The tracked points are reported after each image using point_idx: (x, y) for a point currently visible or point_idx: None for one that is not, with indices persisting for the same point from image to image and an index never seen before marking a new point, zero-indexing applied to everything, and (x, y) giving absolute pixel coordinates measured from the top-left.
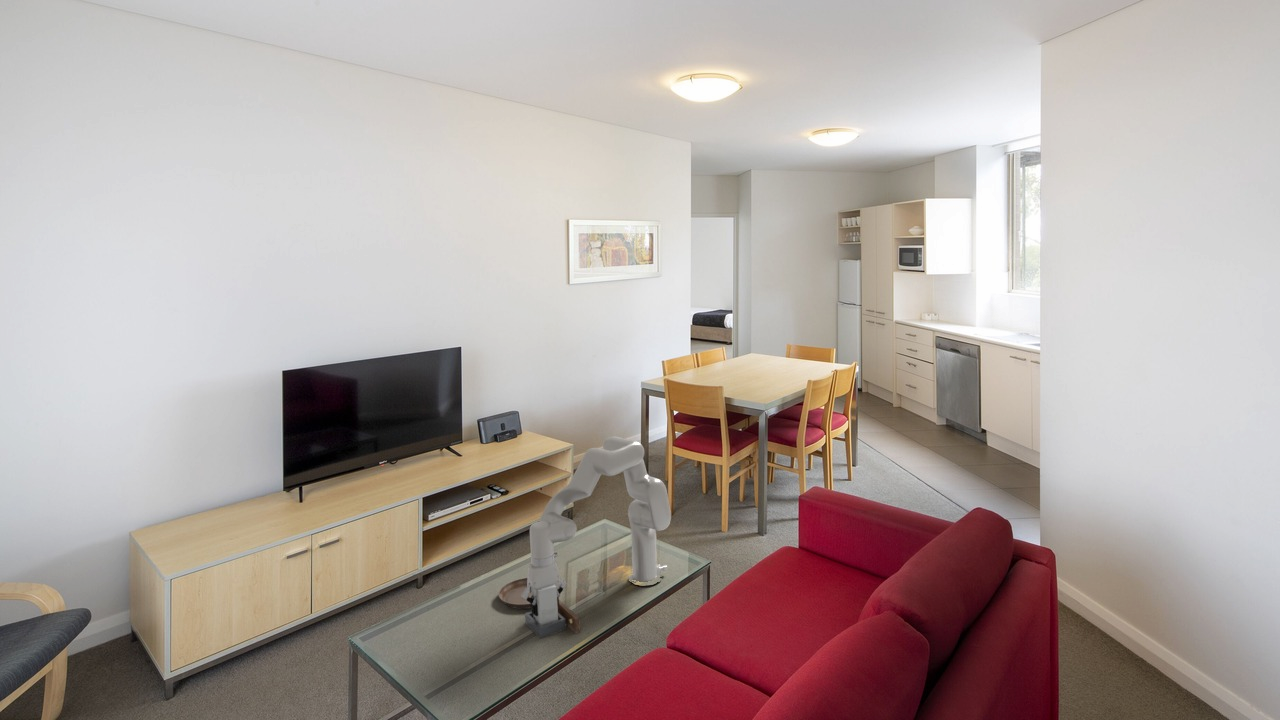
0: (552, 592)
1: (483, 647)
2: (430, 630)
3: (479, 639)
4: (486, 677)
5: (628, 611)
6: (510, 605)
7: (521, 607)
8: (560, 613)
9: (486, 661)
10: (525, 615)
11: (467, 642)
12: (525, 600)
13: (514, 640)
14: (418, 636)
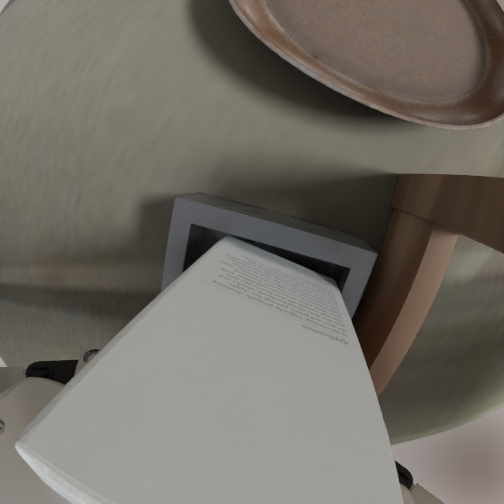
0: None
1: (27, 223)
2: (21, 34)
3: (34, 165)
4: (21, 339)
5: (478, 415)
6: (240, 1)
7: (281, 45)
8: (363, 328)
9: (22, 293)
10: (177, 205)
11: (15, 156)
12: (356, 7)
13: (96, 276)
14: (2, 52)
